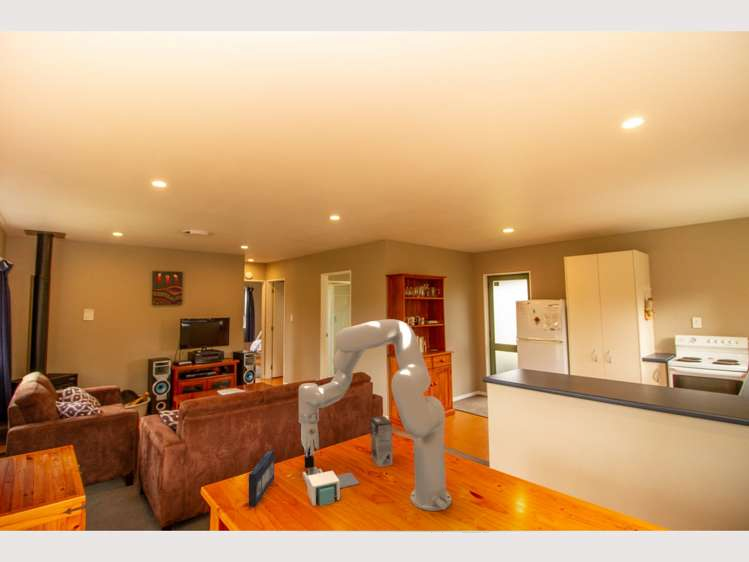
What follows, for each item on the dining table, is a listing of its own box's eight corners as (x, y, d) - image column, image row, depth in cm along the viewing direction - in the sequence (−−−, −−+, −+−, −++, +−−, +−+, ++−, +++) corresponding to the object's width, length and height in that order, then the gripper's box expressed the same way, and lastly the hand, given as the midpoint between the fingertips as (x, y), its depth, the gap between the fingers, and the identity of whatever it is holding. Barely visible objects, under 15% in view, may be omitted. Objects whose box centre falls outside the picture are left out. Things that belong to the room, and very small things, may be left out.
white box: (339, 499, 115) (339, 480, 115) (313, 506, 111) (313, 486, 112) (323, 473, 133) (323, 457, 133) (300, 478, 130) (300, 461, 130)
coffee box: (370, 458, 146) (369, 417, 147) (385, 455, 148) (384, 415, 149) (377, 467, 137) (376, 424, 138) (393, 464, 139) (392, 422, 140)
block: (334, 502, 113) (334, 487, 113) (320, 506, 111) (320, 490, 112) (330, 495, 117) (330, 481, 118) (316, 499, 115) (316, 484, 116)
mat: (359, 484, 124) (359, 483, 124) (334, 490, 121) (334, 488, 121) (350, 473, 132) (350, 472, 132) (327, 478, 129) (327, 477, 129)
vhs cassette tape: (256, 507, 112) (256, 474, 112) (246, 507, 112) (246, 474, 112) (275, 479, 130) (275, 450, 131) (267, 479, 130) (267, 450, 131)
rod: (326, 494, 119) (326, 483, 119) (317, 496, 117) (317, 485, 118) (316, 476, 131) (316, 466, 132) (308, 478, 130) (308, 468, 130)
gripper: (323, 421, 131) (324, 473, 130) (313, 410, 145) (314, 457, 143) (303, 424, 128) (303, 477, 127) (295, 413, 142) (295, 461, 140)
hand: (309, 466), depth 135 cm, fingers closed
